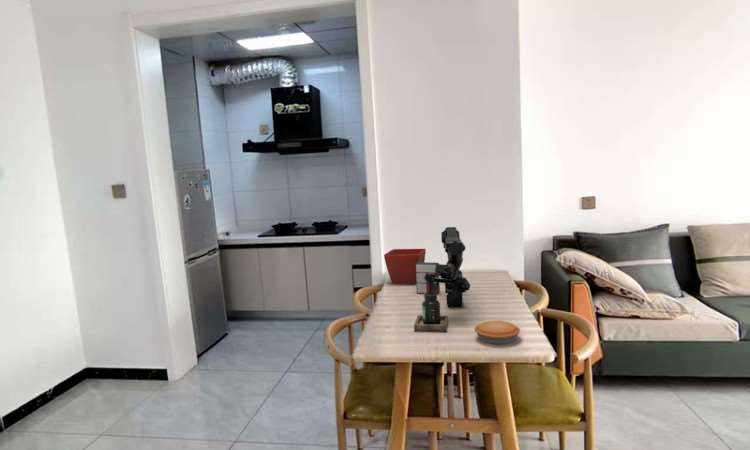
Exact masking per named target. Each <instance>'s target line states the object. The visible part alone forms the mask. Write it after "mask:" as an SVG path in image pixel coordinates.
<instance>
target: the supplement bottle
mask: <svg viewBox="0 0 750 450" xmlns="http://www.w3.org/2000/svg"><path fill="white" fill-rule="evenodd" d="M423 295H424V297H423V300H422V303H421V306H422V307H421V310H422V311H421V313H422V315H423V324H436V325H440V324H441V316H440V315H441V303H440V301H439V300H437V299H438V294H436V293H426V294H423Z"/></svg>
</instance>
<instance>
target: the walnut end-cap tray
mask: <svg viewBox="0 0 750 450" xmlns="http://www.w3.org/2000/svg"><path fill="white" fill-rule="evenodd" d="M440 316H441V324H440V325H436V324H423V314H422V315H421V314H420V315H417V317H416V320H415V322H414V325H413V326H414V327H413V328H414V330H413V331H414V332H420V333H422V332H423V333H431V332H432V333H446V332H447V330H448V326H449V315H446V314H445V315H442V314H440Z"/></svg>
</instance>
